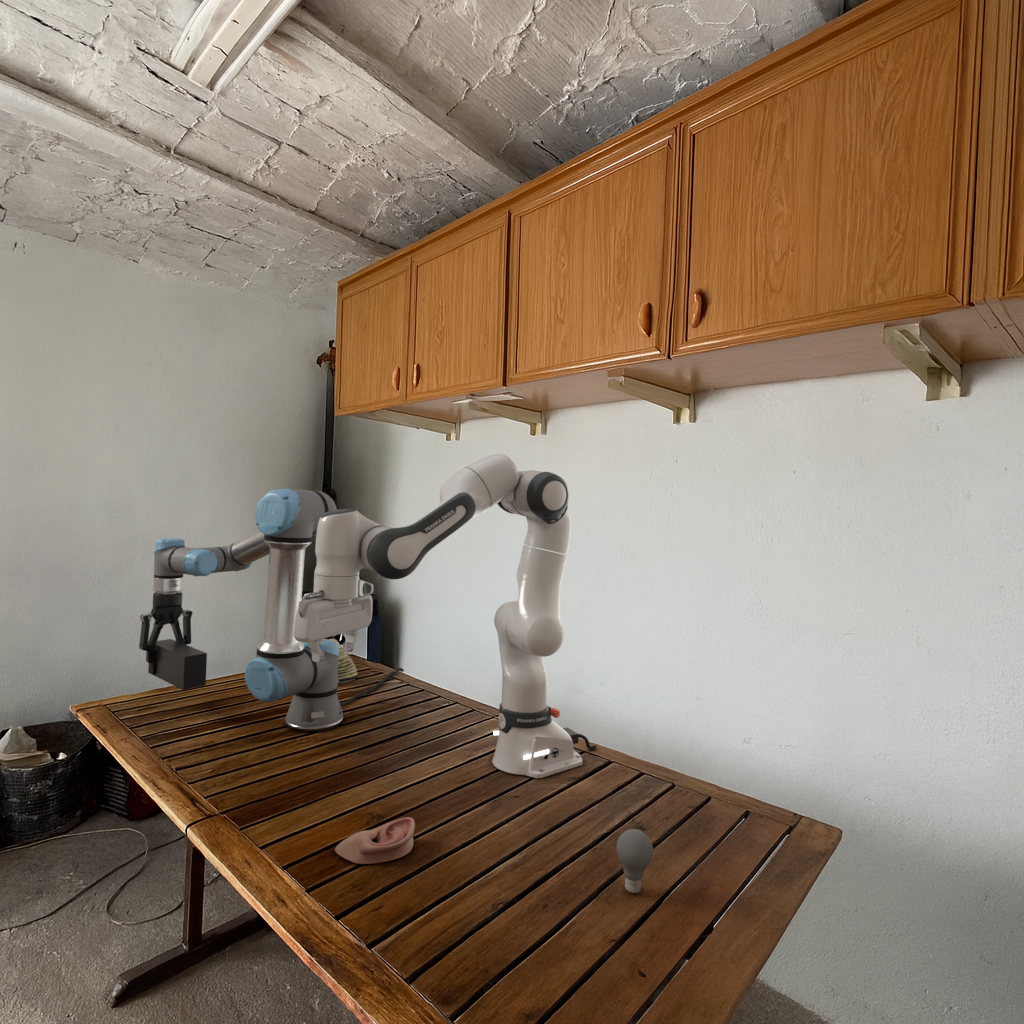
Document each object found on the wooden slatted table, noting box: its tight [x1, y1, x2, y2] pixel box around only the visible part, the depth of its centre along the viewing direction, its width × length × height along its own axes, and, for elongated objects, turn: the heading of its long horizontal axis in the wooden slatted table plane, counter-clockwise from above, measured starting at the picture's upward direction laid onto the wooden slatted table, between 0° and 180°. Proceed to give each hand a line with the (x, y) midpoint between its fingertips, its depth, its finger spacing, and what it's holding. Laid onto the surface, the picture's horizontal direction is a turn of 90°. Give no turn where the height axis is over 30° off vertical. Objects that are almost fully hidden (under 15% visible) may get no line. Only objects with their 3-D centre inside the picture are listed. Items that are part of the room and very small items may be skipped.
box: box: [147, 638, 208, 691], centre depth 179 cm, size 22×6×9 cm, turn 52°
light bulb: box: [615, 828, 654, 894], centre depth 106 cm, size 6×6×10 cm
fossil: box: [322, 638, 359, 684], centre depth 215 cm, size 9×18×15 cm, turn 132°
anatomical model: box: [334, 816, 416, 865], centre depth 115 cm, size 13×4×12 cm
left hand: (164, 671), depth 183 cm, fingers closed on box, 6 cm apart
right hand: (333, 656), depth 129 cm, fingers open, 8 cm apart
